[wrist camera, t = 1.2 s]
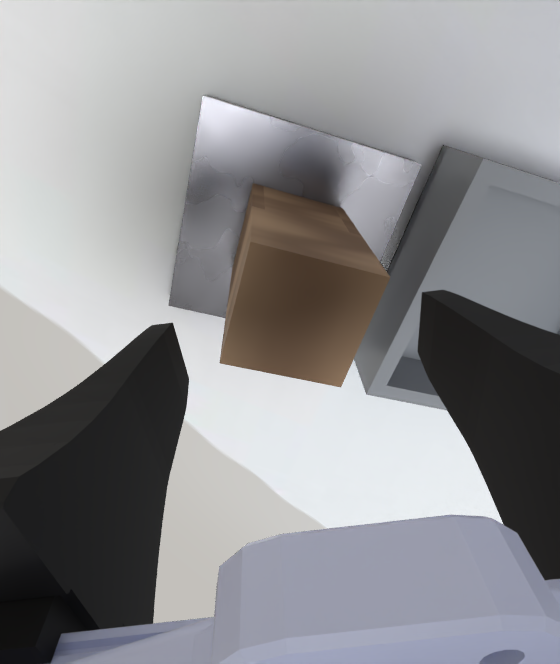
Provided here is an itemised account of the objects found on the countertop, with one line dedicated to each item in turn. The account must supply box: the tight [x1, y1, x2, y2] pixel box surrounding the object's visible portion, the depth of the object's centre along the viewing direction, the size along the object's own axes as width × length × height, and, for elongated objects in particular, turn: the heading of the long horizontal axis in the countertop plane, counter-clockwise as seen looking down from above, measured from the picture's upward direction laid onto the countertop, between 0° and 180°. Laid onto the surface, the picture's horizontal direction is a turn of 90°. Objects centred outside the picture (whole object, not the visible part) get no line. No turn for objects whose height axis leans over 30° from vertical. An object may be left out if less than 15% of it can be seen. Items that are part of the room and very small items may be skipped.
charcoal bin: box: [354, 145, 560, 410], centre depth 21 cm, size 12×12×4 cm
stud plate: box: [169, 95, 422, 318], centre depth 19 cm, size 10×10×5 cm
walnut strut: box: [220, 183, 390, 387], centre depth 17 cm, size 4×4×8 cm
